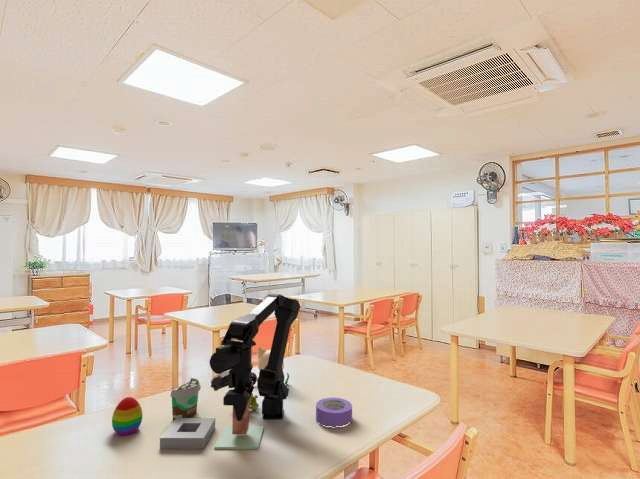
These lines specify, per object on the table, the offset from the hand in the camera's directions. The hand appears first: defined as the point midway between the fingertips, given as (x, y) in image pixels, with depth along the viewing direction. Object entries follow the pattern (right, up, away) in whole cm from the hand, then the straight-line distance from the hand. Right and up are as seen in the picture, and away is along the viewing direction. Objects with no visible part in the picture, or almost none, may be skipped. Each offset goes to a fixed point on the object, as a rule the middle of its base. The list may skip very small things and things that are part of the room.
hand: (240, 417), depth 108 cm
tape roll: (+28, -7, +12) cm, 31 cm away
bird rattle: (-2, -7, +19) cm, 20 cm away
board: (0, -6, 0) cm, 6 cm away
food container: (-20, -6, +14) cm, 26 cm away
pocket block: (-15, -6, 0) cm, 16 cm away
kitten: (+3, -8, +44) cm, 45 cm away
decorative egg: (-35, -6, +3) cm, 36 cm away
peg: (0, -4, 0) cm, 4 cm away
